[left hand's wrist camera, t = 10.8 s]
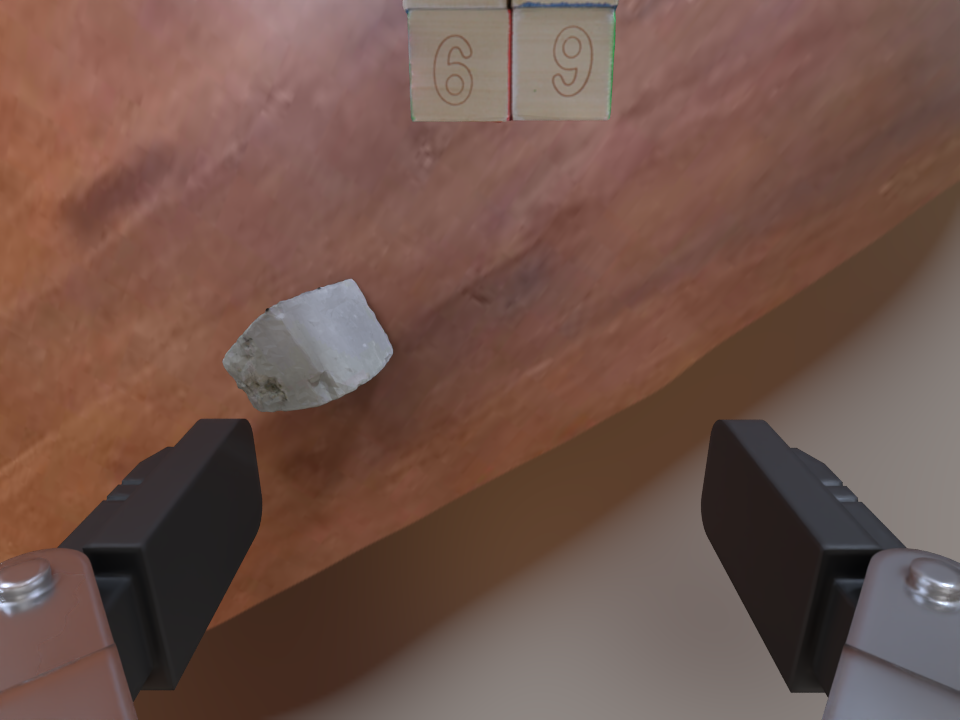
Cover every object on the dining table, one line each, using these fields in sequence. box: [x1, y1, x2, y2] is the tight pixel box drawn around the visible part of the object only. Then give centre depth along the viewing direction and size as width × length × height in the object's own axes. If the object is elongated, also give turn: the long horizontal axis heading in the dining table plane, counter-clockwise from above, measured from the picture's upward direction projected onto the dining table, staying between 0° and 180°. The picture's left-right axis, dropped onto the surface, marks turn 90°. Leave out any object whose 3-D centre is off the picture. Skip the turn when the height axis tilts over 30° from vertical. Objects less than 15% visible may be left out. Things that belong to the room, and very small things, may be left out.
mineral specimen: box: [223, 279, 393, 412], centre depth 38 cm, size 7×9×8 cm
